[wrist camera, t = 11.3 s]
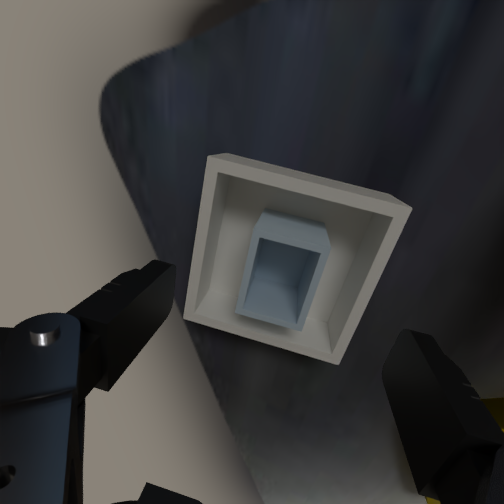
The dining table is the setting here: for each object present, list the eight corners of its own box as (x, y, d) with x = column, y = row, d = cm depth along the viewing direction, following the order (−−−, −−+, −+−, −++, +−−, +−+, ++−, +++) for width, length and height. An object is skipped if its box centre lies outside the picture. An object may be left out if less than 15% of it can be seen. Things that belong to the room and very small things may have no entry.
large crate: (389, 194, 26) (412, 208, 20) (332, 327, 32) (338, 365, 27) (226, 153, 27) (207, 155, 22) (202, 289, 33) (183, 318, 28)
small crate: (324, 222, 27) (331, 248, 21) (301, 291, 30) (301, 331, 24) (264, 207, 27) (253, 228, 21) (248, 277, 31) (234, 312, 24)
